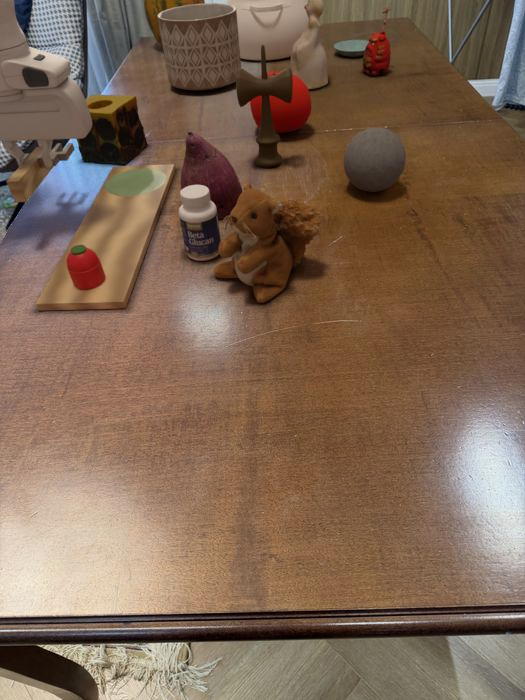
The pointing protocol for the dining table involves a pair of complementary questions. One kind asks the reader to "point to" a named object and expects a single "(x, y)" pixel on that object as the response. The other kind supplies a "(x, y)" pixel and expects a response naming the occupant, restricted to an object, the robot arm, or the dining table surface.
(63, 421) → the dining table surface
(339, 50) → the saucer
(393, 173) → the decorative ball
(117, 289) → the board
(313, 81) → the figurine
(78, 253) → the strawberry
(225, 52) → the planter
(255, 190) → the stuffed squirrel
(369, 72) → the red clay folk toy
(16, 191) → the tan wooden bar
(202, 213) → the pill bottle
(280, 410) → the dining table surface
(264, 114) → the kendama
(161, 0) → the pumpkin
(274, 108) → the tomato
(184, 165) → the vegetable
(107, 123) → the spotted cube with hole
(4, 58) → the robot arm
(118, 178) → the plate
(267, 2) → the pot
